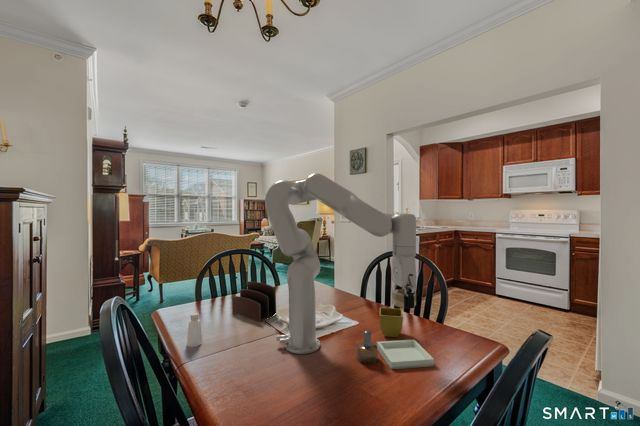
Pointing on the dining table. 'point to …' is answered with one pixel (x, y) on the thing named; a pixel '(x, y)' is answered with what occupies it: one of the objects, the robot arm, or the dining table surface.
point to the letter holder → (255, 301)
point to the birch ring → (400, 298)
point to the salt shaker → (194, 331)
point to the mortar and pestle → (367, 350)
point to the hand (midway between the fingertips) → (404, 303)
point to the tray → (404, 354)
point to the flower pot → (391, 321)
